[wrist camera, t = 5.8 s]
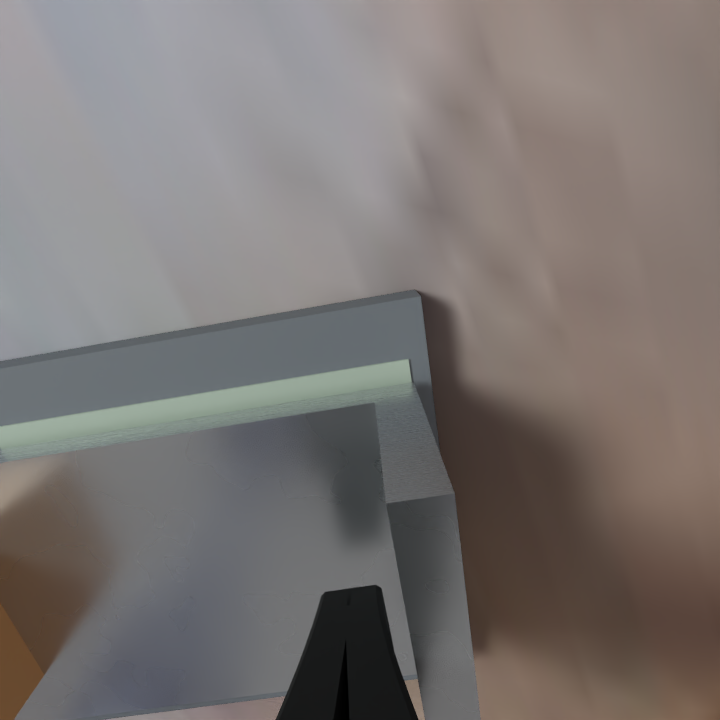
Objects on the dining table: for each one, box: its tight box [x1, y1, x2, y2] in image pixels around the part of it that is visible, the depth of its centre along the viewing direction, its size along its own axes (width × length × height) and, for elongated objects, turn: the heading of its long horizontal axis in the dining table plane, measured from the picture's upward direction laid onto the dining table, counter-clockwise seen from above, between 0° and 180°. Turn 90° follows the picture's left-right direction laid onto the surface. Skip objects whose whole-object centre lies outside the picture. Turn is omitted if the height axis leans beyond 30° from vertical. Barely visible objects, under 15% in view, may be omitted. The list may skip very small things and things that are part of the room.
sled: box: [0, 382, 481, 720], centre depth 10 cm, size 9×19×4 cm, turn 100°
